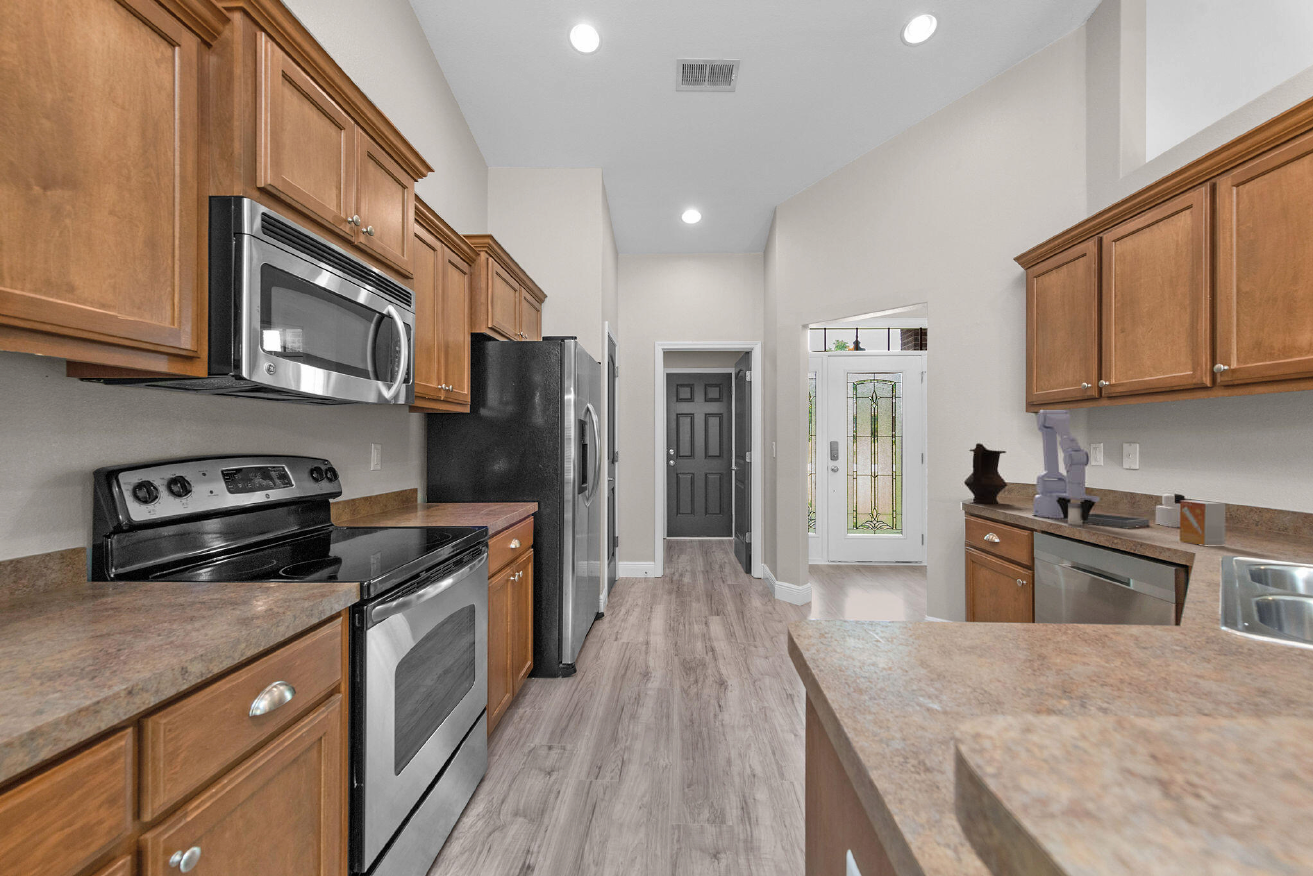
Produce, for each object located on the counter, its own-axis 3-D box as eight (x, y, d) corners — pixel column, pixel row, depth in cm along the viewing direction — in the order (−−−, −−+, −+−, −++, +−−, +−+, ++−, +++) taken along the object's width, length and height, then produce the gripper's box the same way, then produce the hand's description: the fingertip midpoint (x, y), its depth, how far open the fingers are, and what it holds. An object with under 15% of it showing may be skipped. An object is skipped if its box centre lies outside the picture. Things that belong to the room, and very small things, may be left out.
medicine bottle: (1175, 524, 207) (1175, 493, 207) (1192, 527, 200) (1192, 495, 200) (1155, 524, 208) (1155, 492, 208) (1170, 527, 200) (1171, 494, 200)
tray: (1070, 521, 213) (1070, 515, 213) (1093, 519, 220) (1093, 513, 220) (1126, 528, 197) (1126, 521, 197) (1149, 525, 204) (1149, 519, 204)
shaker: (1065, 524, 206) (1065, 502, 206) (1071, 523, 208) (1072, 502, 208) (1078, 525, 202) (1079, 504, 202) (1085, 525, 204) (1085, 503, 204)
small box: (1179, 541, 172) (1179, 500, 172) (1199, 541, 172) (1199, 500, 172) (1204, 546, 164) (1205, 503, 164) (1226, 546, 164) (1226, 503, 164)
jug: (972, 499, 288) (973, 443, 288) (1012, 503, 274) (1013, 443, 274) (955, 502, 274) (956, 443, 275) (996, 506, 260) (997, 443, 260)
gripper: (1048, 481, 210) (1048, 517, 210) (1092, 484, 197) (1091, 522, 197) (1059, 481, 213) (1058, 516, 213) (1102, 484, 200) (1102, 521, 200)
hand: (1075, 519), depth 205 cm, fingers open, 6 cm apart
